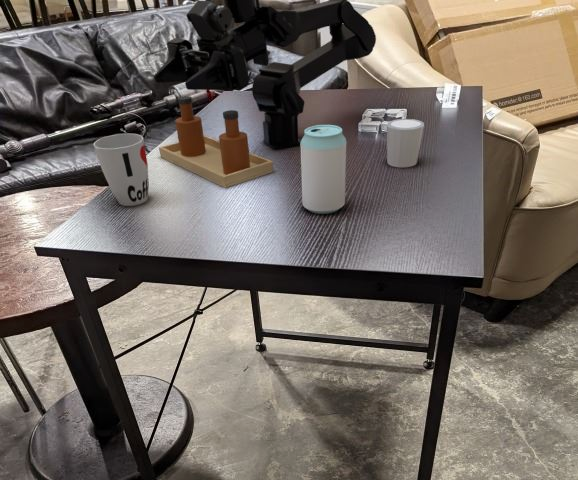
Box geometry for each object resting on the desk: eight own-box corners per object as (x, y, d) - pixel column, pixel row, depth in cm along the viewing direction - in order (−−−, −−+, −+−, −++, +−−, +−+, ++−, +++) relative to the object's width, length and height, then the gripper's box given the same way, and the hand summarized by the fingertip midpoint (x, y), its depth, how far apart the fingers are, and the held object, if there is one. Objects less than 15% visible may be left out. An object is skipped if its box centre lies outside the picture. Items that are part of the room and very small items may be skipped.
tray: (160, 157, 110) (158, 147, 109) (205, 144, 115) (204, 134, 114) (225, 188, 96) (223, 177, 94) (273, 171, 101) (272, 161, 99)
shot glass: (398, 154, 105) (401, 116, 100) (427, 161, 101) (432, 122, 96) (376, 163, 101) (379, 124, 97) (406, 171, 98) (409, 131, 93)
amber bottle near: (244, 164, 103) (238, 106, 96) (254, 172, 99) (249, 113, 92) (219, 170, 101) (211, 111, 94) (229, 178, 98) (222, 118, 91)
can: (300, 215, 85) (297, 137, 77) (304, 198, 90) (302, 123, 82) (344, 215, 84) (346, 136, 76) (345, 198, 89) (347, 122, 82)
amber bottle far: (201, 147, 113) (192, 93, 106) (209, 153, 109) (201, 98, 102) (177, 151, 111) (168, 97, 104) (185, 158, 107) (175, 102, 100)
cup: (133, 212, 89) (117, 151, 82) (100, 204, 93) (82, 145, 86) (165, 195, 94) (153, 136, 88) (133, 188, 98) (118, 131, 91)
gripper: (191, -7, 95) (121, 24, 89) (261, -4, 84) (187, 32, 78) (209, 61, 103) (146, 94, 97) (275, 71, 93) (209, 109, 87)
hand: (170, 82), depth 90 cm, fingers open, 9 cm apart
